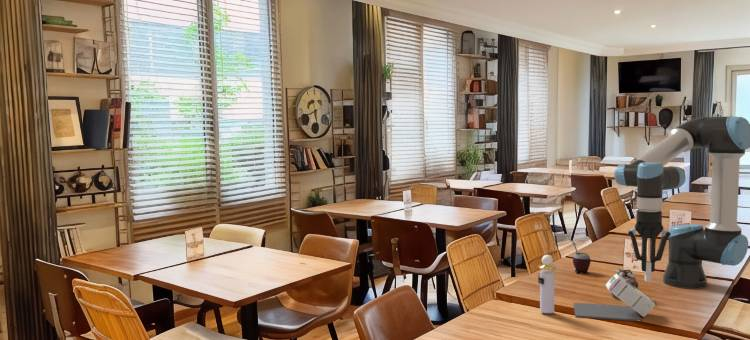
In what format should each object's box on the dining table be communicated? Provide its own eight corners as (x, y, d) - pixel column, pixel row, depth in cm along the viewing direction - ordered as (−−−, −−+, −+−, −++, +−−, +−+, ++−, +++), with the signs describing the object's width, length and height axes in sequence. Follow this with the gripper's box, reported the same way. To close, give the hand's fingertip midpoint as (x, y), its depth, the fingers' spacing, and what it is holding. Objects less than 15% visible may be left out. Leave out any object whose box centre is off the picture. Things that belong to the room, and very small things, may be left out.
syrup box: (656, 304, 192) (619, 276, 194) (643, 318, 193) (607, 289, 195) (652, 299, 198) (616, 271, 200) (639, 312, 199) (604, 284, 201)
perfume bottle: (552, 310, 203) (552, 252, 201) (558, 315, 197) (559, 256, 195) (535, 310, 202) (535, 253, 201) (541, 316, 196) (542, 257, 195)
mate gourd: (593, 272, 250) (594, 237, 248) (582, 276, 245) (582, 240, 244) (578, 269, 256) (579, 235, 254) (567, 272, 251) (567, 237, 250)
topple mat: (634, 308, 203) (634, 306, 203) (641, 321, 190) (641, 319, 190) (573, 304, 209) (573, 302, 209) (575, 317, 195) (575, 315, 195)
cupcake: (605, 293, 220) (606, 267, 219) (632, 293, 220) (632, 267, 219) (615, 301, 211) (615, 274, 210) (642, 301, 210) (643, 273, 210)
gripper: (668, 208, 195) (667, 279, 197) (626, 207, 198) (624, 277, 200) (673, 212, 187) (671, 285, 189) (629, 211, 191) (628, 283, 193)
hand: (647, 281), depth 195 cm, fingers closed
